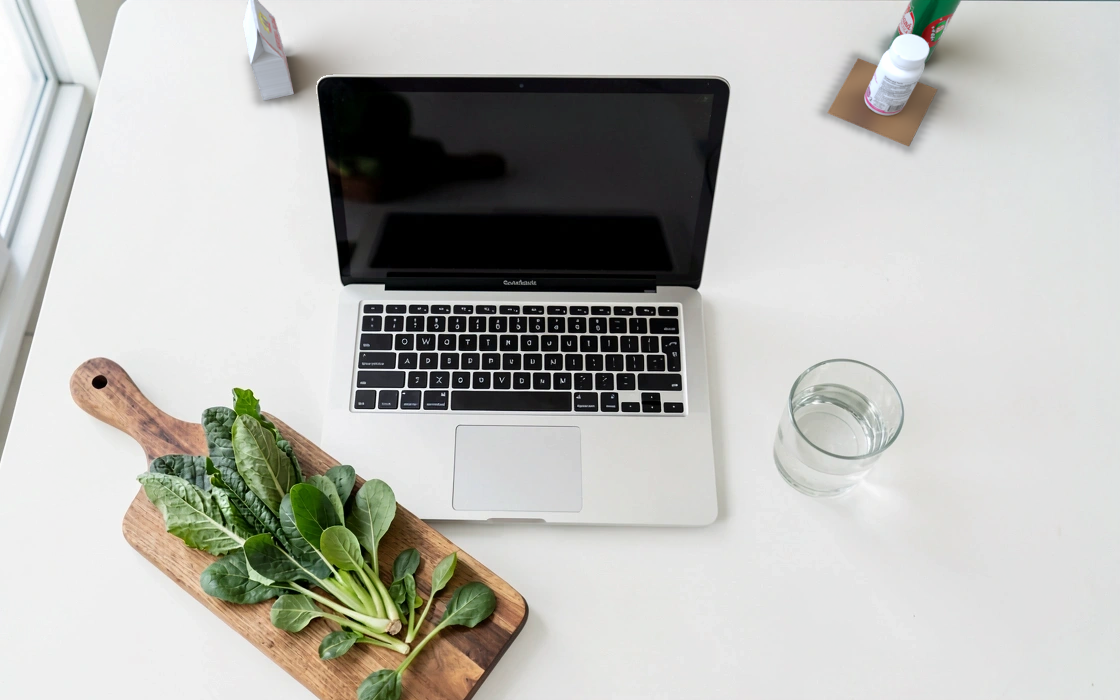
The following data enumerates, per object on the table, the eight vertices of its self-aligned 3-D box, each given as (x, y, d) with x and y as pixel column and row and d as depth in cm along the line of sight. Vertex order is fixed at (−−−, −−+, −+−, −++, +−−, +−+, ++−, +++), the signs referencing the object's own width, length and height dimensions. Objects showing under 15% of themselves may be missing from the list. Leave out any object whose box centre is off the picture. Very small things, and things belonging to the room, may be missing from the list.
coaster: (936, 91, 108) (937, 89, 108) (907, 148, 104) (909, 146, 104) (856, 60, 110) (858, 57, 110) (826, 115, 106) (827, 112, 106)
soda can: (887, 37, 112) (926, -47, 101) (928, 43, 111) (972, -41, 100) (885, 67, 110) (926, -16, 99) (928, 73, 109) (973, -9, 98)
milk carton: (263, 102, 108) (241, 37, 99) (256, 61, 110) (233, -6, 101) (294, 96, 108) (274, 30, 99) (286, 55, 111) (265, -12, 102)
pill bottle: (869, 81, 108) (896, 25, 101) (908, 94, 107) (938, 39, 100) (858, 108, 106) (884, 54, 99) (897, 122, 105) (927, 68, 98)
